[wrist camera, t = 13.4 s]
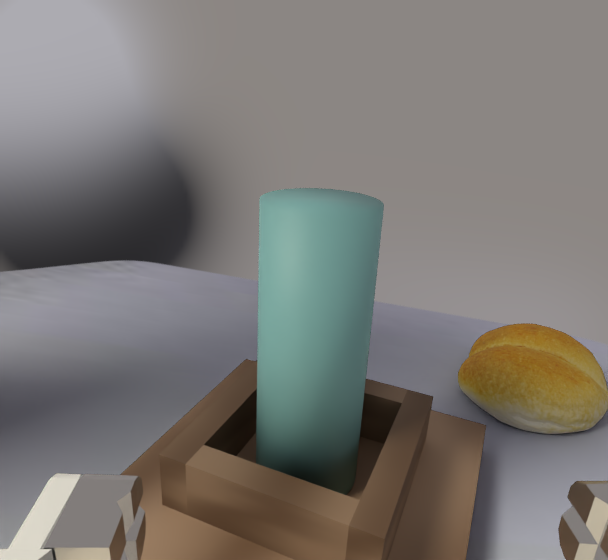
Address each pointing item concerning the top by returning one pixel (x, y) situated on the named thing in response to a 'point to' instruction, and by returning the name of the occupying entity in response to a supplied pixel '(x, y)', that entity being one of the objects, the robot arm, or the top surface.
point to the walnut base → (310, 485)
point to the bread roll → (535, 379)
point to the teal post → (314, 330)
